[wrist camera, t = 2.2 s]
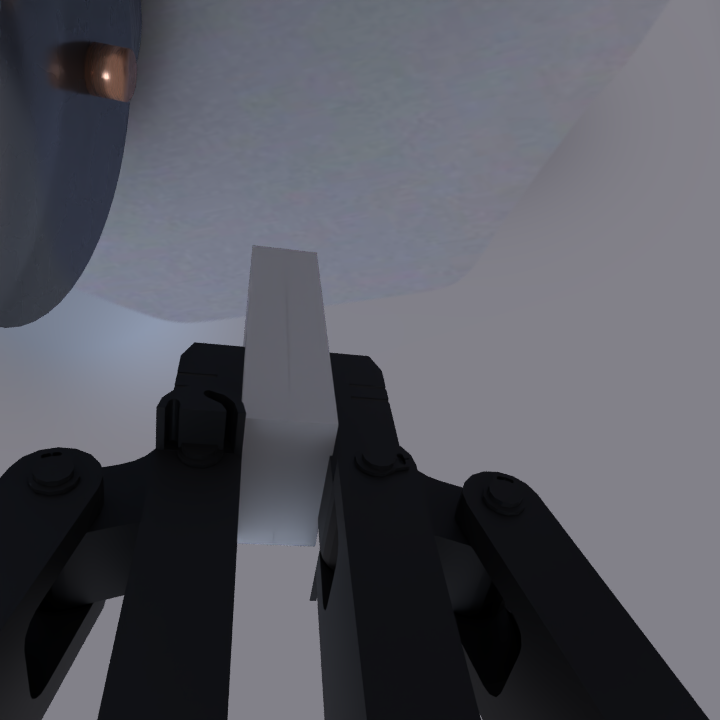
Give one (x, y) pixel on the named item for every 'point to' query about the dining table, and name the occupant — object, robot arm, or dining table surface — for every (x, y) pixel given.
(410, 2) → the dining table surface
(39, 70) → the pot lid
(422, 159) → the dining table surface
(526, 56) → the dining table surface
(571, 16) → the dining table surface
